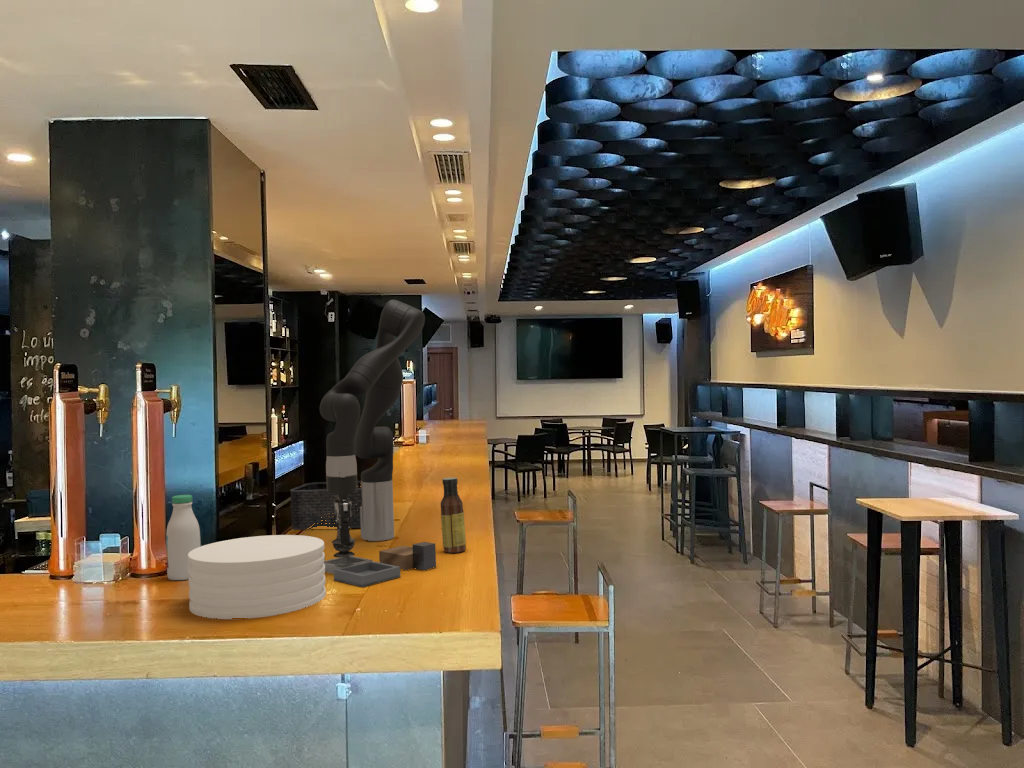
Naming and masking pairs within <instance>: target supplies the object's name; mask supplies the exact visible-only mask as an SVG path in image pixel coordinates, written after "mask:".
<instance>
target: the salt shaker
mask: <svg viewBox="0 0 1024 768" xmlns="http://www.w3.org/2000/svg"><path fill="white" fill-rule="evenodd" d="M343 522H347V519H343ZM336 527H337V529H336V533H337V534H336V538H335V539H334V540H333V539H332V541H331V543H332V546H333V549H334V550H335V551H337V552H335V553H334V554H333V555H332V557H334V558H342V557H350V556H355V555H356V554H355V552H353V551H351V550H353V549H354V547H355V542H356V539H355V538H353V537H352V536H350V542H349V543H346V544H341V542H340V527H339V520H338V519H337V525H336ZM350 530H351V529H349V534H350V535H351V533H350Z"/></svg>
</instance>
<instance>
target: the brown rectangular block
mask: <svg viewBox="0 0 1024 768" xmlns="http://www.w3.org/2000/svg"><path fill="white" fill-rule="evenodd" d="M378 553H379V554H378V555H379V556H378V557H379V561H378V562H379V563H384V564H389V565H394V566H399V567H400V569H403V570H402V571H405V570H407V571H409V570H408V569H411V568H413V548H412V546H407V545H400V546H395V547H391V548H386V549H382V550H379V551H378ZM411 570H412V569H411Z"/></svg>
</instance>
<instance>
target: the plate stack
mask: <svg viewBox="0 0 1024 768" xmlns="http://www.w3.org/2000/svg"><path fill="white" fill-rule="evenodd" d="M324 550H325V541H324V539H321V538H319V537H316V536H310V535H302V534H301V535H300V534H299V535H298V534H297V535H296V534H271V535H270V534H269V535H257V536H256V535H255V536H248V537H247V536H245V537H239V538H232V539H228V540H227V539H226V540H222V541H221V540H220V541H216V542H212V543H208V544H204V545H201V547H198V548H196V549H193V550H192V551H190V552H189V553H188V562H189V563H190V564H189V566H188V573H189V575H190V577H189V579H188V587H189V589H188V599H189V603H188V606H189V612H191V613H192V614H194V615H196V616H198V617H201V616H202V618H206V617H207V619H214V618H215V619H216V618H217V619H216V620H233V619H232V618H246V619H245V620H247V618H248V619H257V618H266V617H272V616H278V614H279V615H283V613H284V614H288V613H292V611H293V612H296V611H299V610H303V609H306V608H308V606H309V607H311V606H314V605H316V604H318V603H319V602H321V601H322V600H323V599H325V597H326V595H327V591H326V589H327V588H326V586H325V585H326V575H325V573H326V572H325V564H324V563H323V562H324V561H326V560H325V557H326V556H325V552H324ZM320 600H321V601H320ZM317 602H318V603H317ZM315 603H316V604H315ZM313 604H314V605H313ZM310 605H311V606H310ZM305 607H306V608H305ZM302 608H303V609H302Z"/></svg>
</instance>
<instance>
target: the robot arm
mask: <svg viewBox="0 0 1024 768" xmlns="http://www.w3.org/2000/svg"><path fill="white" fill-rule="evenodd" d="M425 321H426V316H425V313H424V312H423V311H421V310H420V309H418V308H416V307H414V306H412V305H409V304H407V303H404V302H403V301H400V300H398V299H397V300H396V299H390V300H388V301H387V302H386V303H385V305H384V307H383V308H382V311H381V313H380V318H379V322H378V329H377V339H376V346H375V349H374V350H372V351H369V352H367V353H366V354H364V355H363V356H361V357H360V358H359V359H357V361H356V362H355V363H354V365H353V366H352V367H351V369H350V370H349V371H348V373H347V374H346V375H345V377H344V378H343V379H341V380H339V381H338V382H337V383H336V384H335V385H334V386H333V387H331V389H330V390H328V391H327V392H326V393H325V394H324V396H323V397H322V398H321V401H320V403H319V413H320V416H321V417H322V418H323V419H324V420H326V421H328V422H335V428H334V429H333V431H330V432H329V433H328V434H327V435H326V441H325V442H326V443H325V444H326V445H325V446H326V447H325V448H326V461H325V473H326V475H325V479H326V481H325V482H327V493H329V494H337V496H335V500H334V507H335V516H336V517H335V519H336V522H337V519H338V520H339V527H340V542H341V544H346V543H349V542H350V537H351V533H350V534H349V530H350V529H349V528H350V526H351V505H352V504H351V500H350V499H348V494H349V493H354V492H356V491H357V487H358V486H357V484H358V483H357V481H358V464H357V459H356V458H357V457H358V458H359V459H377V461H376V463H375V464H374V465H373V466H370V467H369V468H366V469H364V470H363V471H362V472H361V473H360V481H361V483H360V484H361V486H360V487H361V491H362V506H361V507H360V521H361V529H360V538H361V539H364V540H363V541H366V540H368V542H380V541H382V542H383V541H387V540H392V539H394V538H395V519H394V518H395V517H394V490H393V489H394V488H393V487H394V485H393V483H394V482H393V472H394V436H393V432H392V430H391V428H390V427H389V426H376V425H377V424H378V422H379V421H380V420H381V419H382V417H383V416H384V415H385V414H386V413H387V412H388V411H389V410H390V409H391V408H392V407H393V406H394V405H395V404H396V402H397V400H398V399H399V397H400V394H401V389H402V385H403V381H404V373H403V369H402V366H401V363H400V360H399V357H400V356H401V355H402V354H404V352H405V351H406V350H407V349H408V347H409V346H411V345H412V344H413V343H414V342H415V341H416V339H417V338H418V337H419V335H420V334H421V332H422V330H423V328H424V326H425ZM364 396H365V400H364V405H363V409H362V413H361V406H360V402H359V400H358V399H359V398H361V397H364ZM343 519H347V522H343Z"/></svg>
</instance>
